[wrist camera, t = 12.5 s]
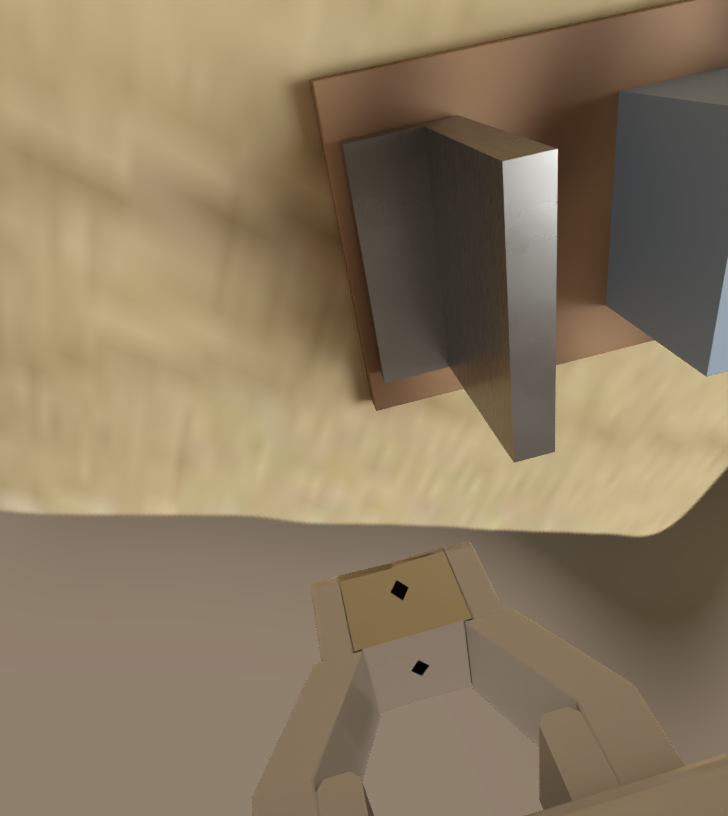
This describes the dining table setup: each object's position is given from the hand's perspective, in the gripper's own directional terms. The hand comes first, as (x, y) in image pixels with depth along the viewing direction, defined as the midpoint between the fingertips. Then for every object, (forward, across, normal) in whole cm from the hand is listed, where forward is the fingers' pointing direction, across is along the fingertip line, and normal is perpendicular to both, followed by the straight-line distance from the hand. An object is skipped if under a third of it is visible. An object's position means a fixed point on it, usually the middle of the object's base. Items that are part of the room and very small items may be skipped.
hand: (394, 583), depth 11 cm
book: (+16, -16, 0) cm, 23 cm away
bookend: (+16, -5, 0) cm, 17 cm away
